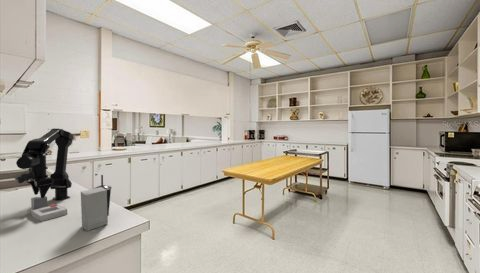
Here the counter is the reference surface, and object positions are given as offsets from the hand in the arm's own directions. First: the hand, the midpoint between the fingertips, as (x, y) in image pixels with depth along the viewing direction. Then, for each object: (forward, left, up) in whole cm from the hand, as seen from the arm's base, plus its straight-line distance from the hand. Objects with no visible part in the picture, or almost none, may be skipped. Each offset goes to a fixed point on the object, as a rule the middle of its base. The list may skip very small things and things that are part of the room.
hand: (39, 196), depth 109 cm
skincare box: (+41, +7, -8) cm, 42 cm away
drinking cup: (+33, +14, -8) cm, 37 cm away
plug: (0, 0, -8) cm, 8 cm away
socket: (+10, +1, -8) cm, 13 cm away
